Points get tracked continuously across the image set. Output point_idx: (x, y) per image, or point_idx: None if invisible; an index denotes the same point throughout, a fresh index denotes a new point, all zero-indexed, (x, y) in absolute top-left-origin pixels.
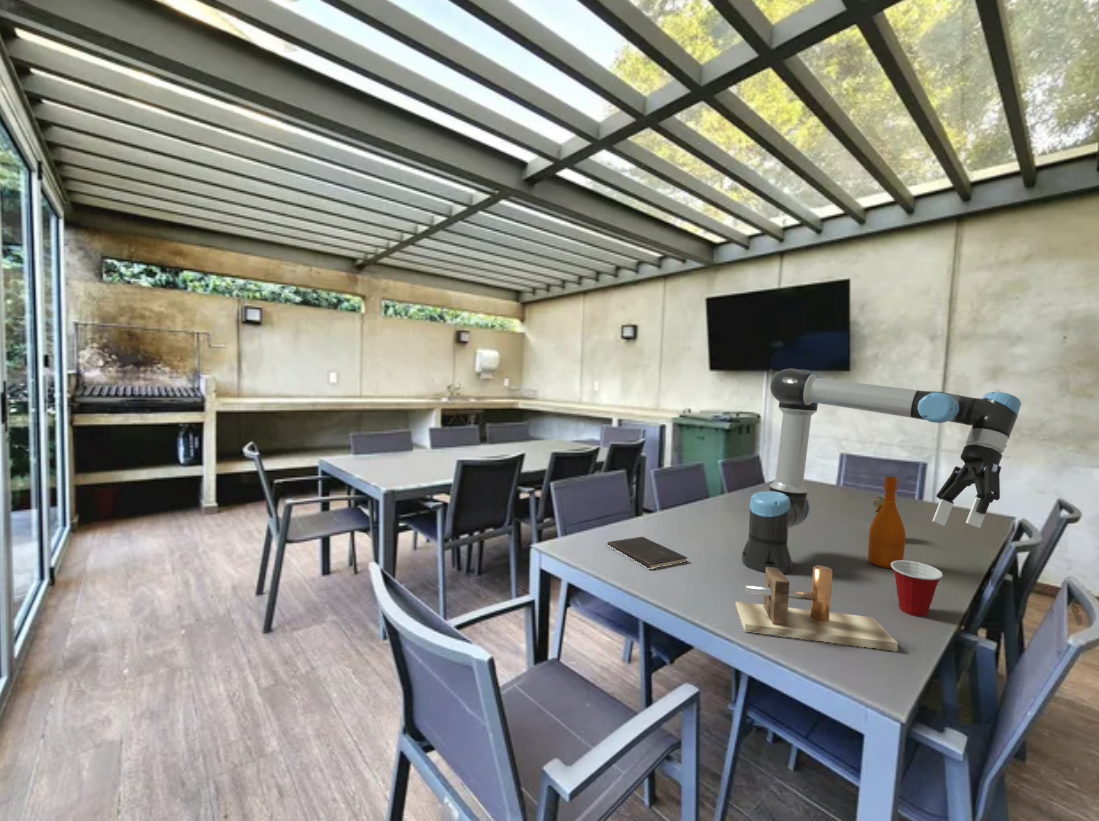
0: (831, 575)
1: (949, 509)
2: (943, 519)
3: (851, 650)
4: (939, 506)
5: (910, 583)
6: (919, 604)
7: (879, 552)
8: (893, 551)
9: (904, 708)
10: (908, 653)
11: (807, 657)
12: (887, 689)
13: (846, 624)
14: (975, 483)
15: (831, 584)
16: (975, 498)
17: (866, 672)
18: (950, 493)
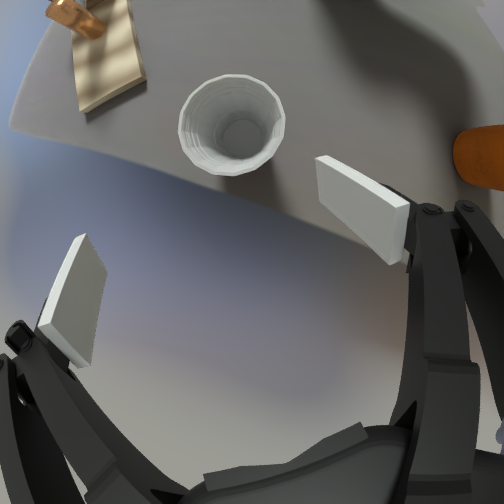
0: (52, 18)
1: (366, 236)
2: (331, 199)
3: (72, 74)
4: (363, 185)
5: (197, 114)
6: (213, 139)
7: (469, 137)
8: (472, 160)
9: (13, 129)
10: (88, 124)
11: (49, 51)
12: (27, 115)
13: (102, 55)
14: (87, 433)
15: (62, 23)
16: (46, 323)
17: (42, 95)
18: (416, 267)
